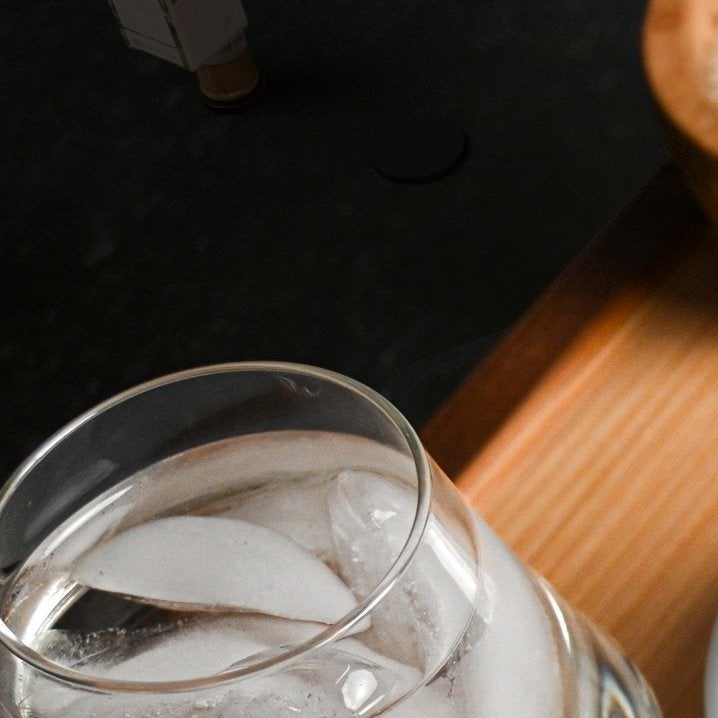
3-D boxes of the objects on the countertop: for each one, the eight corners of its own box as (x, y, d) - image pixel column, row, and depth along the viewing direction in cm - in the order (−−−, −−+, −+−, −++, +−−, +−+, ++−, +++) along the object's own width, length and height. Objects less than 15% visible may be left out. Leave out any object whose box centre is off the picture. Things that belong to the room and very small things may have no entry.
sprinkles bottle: (248, 58, 147) (193, -106, 136) (269, 91, 145) (215, -73, 134) (191, 79, 146) (131, -84, 135) (212, 112, 144) (153, -51, 133)
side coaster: (389, 196, 139) (387, 189, 139) (357, 140, 143) (355, 133, 142) (479, 164, 141) (478, 157, 140) (446, 109, 144) (444, 102, 143)
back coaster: (211, 122, 144) (208, 115, 144) (191, 83, 147) (188, 76, 147) (277, 100, 145) (274, 93, 145) (256, 61, 148) (254, 54, 148)
